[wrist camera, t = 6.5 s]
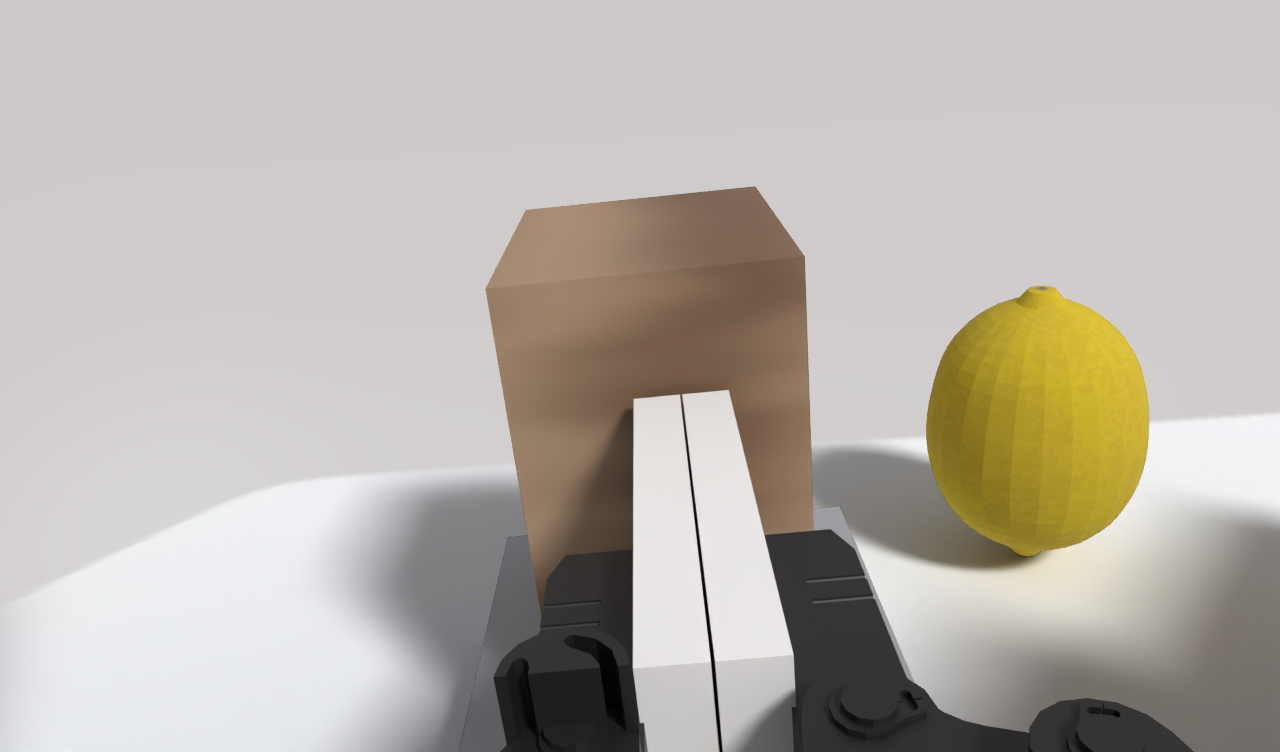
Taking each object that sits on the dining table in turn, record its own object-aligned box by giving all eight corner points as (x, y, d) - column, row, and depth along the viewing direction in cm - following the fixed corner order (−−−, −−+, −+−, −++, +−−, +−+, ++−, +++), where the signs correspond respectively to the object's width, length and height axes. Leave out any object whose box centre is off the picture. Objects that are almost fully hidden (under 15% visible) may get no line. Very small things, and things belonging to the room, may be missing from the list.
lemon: (886, 557, 27) (886, 298, 24) (989, 486, 30) (1001, 248, 27) (1072, 641, 23) (1099, 339, 20) (1168, 548, 26) (1205, 276, 23)
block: (574, 811, 18) (484, 288, 14) (587, 625, 24) (526, 210, 20) (822, 790, 18) (804, 256, 14) (777, 607, 24) (755, 186, 20)
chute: (429, 1194, 13) (387, 1061, 12) (524, 629, 25) (507, 537, 24) (1038, 1149, 13) (1052, 1011, 12) (841, 601, 25) (839, 506, 24)
